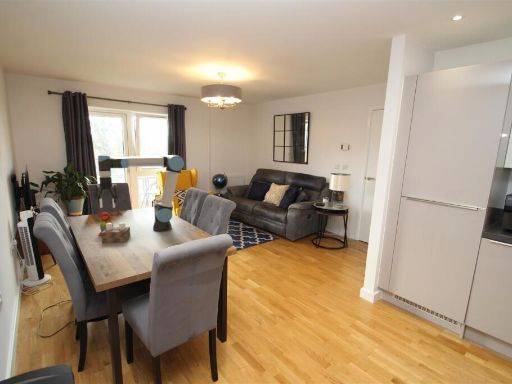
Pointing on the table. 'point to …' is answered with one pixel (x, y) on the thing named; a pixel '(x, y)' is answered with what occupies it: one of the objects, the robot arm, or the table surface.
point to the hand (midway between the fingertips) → (107, 207)
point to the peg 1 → (109, 227)
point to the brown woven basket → (115, 235)
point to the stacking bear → (105, 221)
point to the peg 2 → (122, 226)
